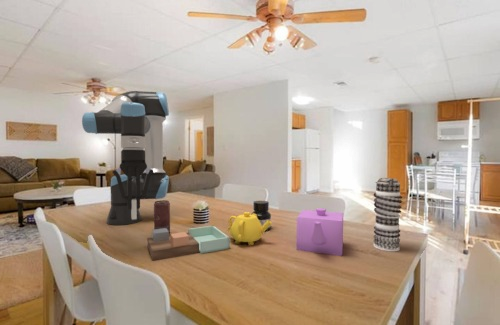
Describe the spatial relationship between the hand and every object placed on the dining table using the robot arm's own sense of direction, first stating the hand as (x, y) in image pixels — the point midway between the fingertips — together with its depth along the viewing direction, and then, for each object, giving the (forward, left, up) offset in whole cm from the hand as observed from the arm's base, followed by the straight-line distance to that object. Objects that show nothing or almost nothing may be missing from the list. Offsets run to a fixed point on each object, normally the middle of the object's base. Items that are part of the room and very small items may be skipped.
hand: (134, 218), depth 89 cm
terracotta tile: (+8, +14, -9) cm, 18 cm away
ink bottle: (-4, +53, -12) cm, 54 cm away
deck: (+4, +12, -12) cm, 17 cm away
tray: (+4, +25, -12) cm, 28 cm away
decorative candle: (+37, +82, -12) cm, 90 cm away
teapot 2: (+26, +60, -12) cm, 66 cm away
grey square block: (0, +9, -9) cm, 12 cm away
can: (-14, +12, -12) cm, 22 cm away
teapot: (+8, +41, -12) cm, 43 cm away
